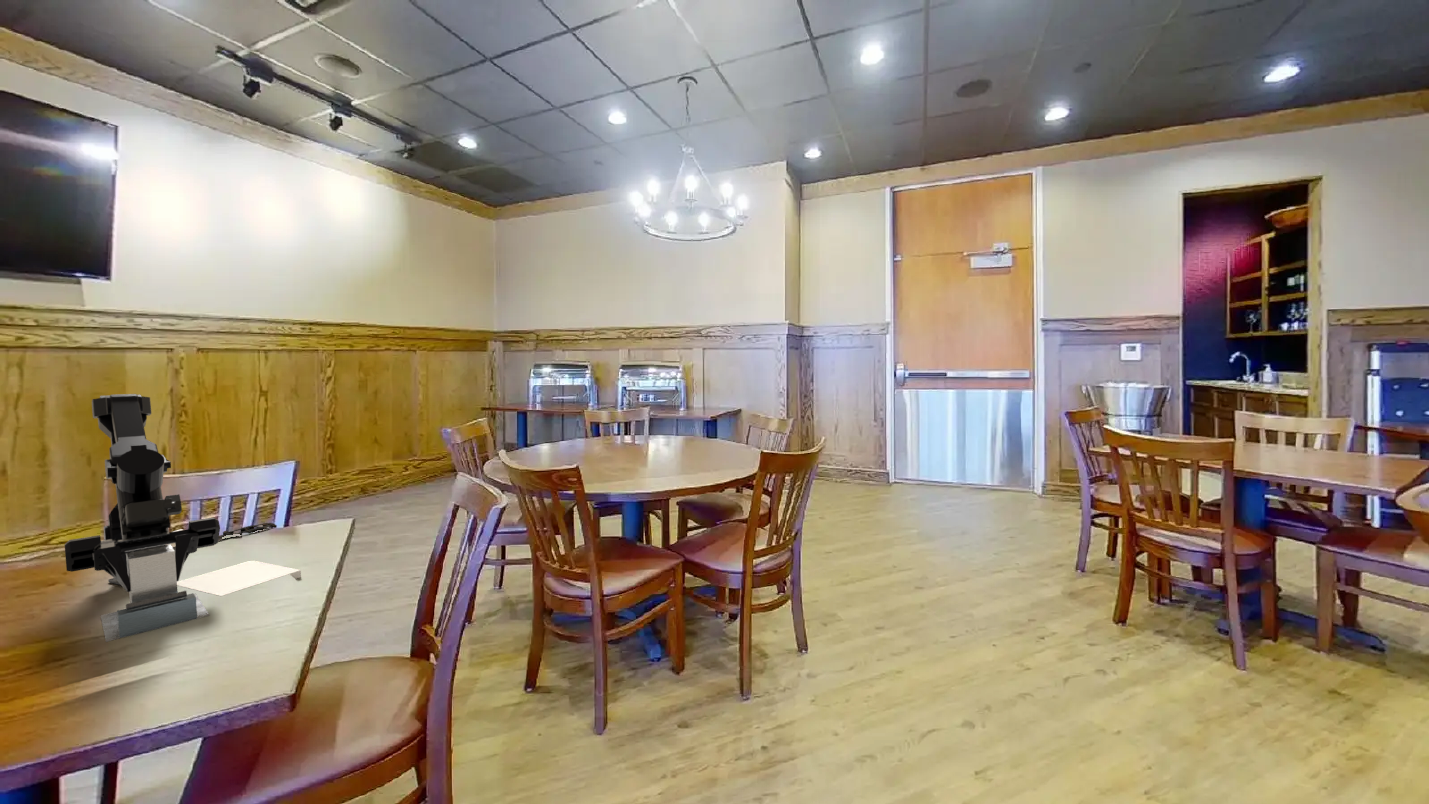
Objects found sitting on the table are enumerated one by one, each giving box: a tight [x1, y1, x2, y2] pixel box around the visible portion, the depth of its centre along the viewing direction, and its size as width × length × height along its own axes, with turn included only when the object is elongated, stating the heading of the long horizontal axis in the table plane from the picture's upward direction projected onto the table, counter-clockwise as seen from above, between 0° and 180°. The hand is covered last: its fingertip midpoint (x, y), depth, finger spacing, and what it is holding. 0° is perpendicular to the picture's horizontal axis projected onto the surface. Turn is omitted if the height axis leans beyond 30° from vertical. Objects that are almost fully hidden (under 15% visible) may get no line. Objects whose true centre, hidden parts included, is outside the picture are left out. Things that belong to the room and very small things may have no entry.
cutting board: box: [177, 559, 302, 597], centre depth 114 cm, size 16×14×2 cm
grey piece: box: [100, 590, 210, 643], centre depth 96 cm, size 14×12×6 cm
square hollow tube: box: [126, 544, 178, 603], centre depth 96 cm, size 5×5×11 cm
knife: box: [172, 522, 278, 551], centre depth 143 cm, size 25×6×1 cm, turn 155°
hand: (153, 585), depth 95 cm, fingers closed on square hollow tube, 5 cm apart
